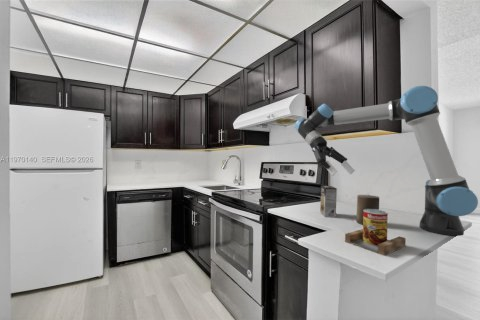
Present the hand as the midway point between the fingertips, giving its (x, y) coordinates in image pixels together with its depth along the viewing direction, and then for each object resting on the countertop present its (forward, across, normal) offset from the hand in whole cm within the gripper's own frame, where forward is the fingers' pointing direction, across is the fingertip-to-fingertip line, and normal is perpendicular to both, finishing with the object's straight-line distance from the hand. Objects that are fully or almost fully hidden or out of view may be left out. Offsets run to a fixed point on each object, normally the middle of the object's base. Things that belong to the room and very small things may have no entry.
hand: (343, 173), depth 100 cm
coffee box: (+4, -17, -33) cm, 37 cm away
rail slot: (+29, +4, -7) cm, 30 cm away
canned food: (+29, +4, -7) cm, 30 cm away
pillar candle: (+18, -21, -19) cm, 33 cm away
